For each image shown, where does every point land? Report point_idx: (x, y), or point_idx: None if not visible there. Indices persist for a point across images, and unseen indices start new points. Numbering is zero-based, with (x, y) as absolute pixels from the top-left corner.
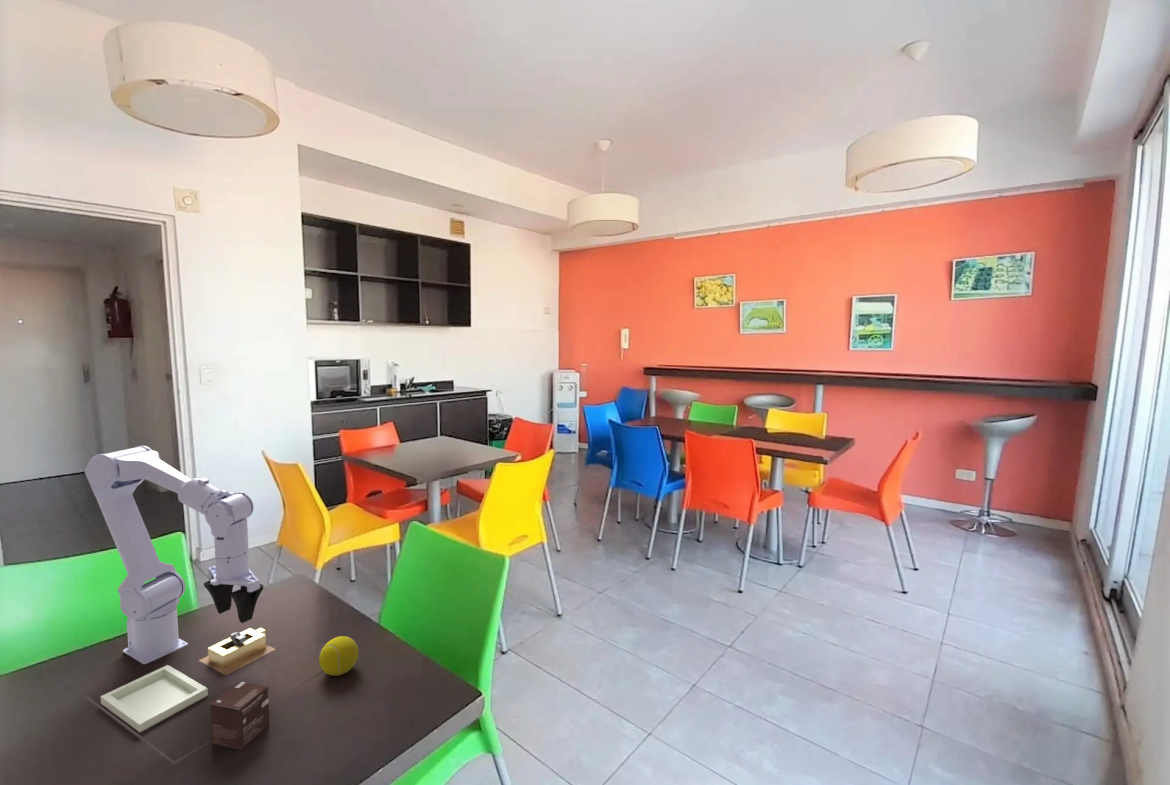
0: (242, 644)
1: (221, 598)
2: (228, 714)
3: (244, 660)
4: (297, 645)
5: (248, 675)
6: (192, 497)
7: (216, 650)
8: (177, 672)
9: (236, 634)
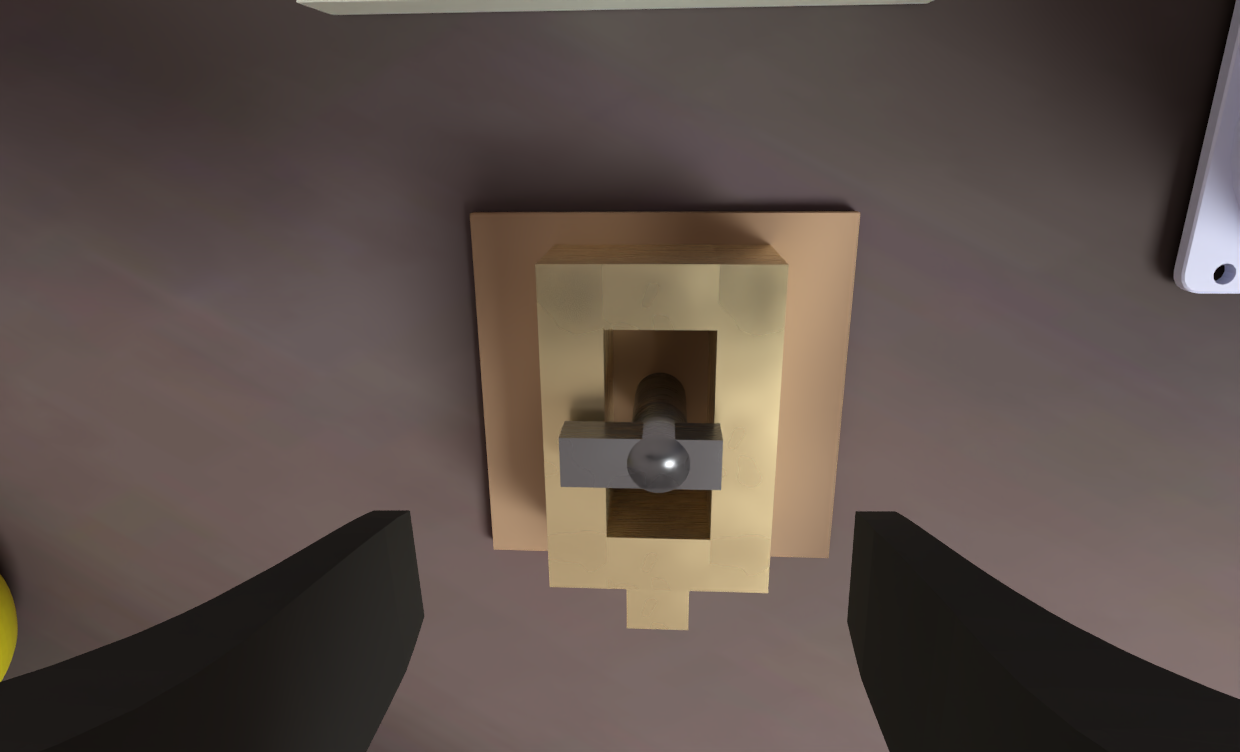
0: None
1: (931, 681)
2: None
3: None
4: (439, 634)
5: (367, 303)
6: None
7: (673, 280)
8: None
9: (669, 467)
